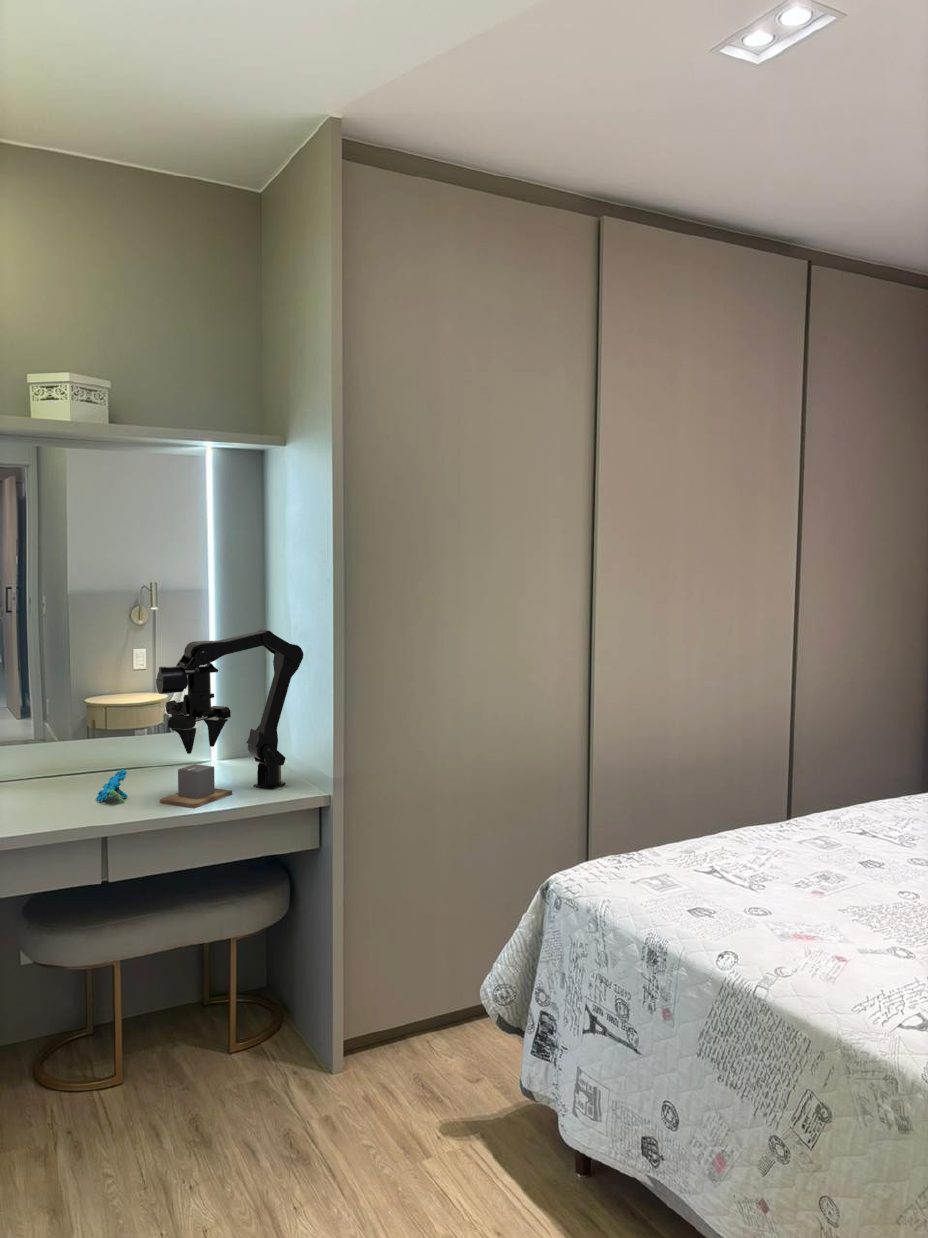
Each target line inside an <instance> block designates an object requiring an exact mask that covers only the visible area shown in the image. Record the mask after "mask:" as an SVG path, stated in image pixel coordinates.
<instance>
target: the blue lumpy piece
mask: <svg viewBox="0 0 928 1238" xmlns="http://www.w3.org/2000/svg"><path fill="white" fill-rule="evenodd" d="M127 774H128V771H127V770H126V769H123V768H122V769H121V770H120V771H119V770H117V771H116V772H115V773H114V775H112V776H111V777H109V779H108V782H105V783H104V784H103V785H102V788H103V789H101V790H98V792H97V796H96V798H95V800H96V801H98V802H100V803H102V802H103V801H106V800H107V799H108V798H109V795H110V796H111V797H112V798H113V799H114V800H115V799H117V800H118V801H119V802H120V803H122V804H124V803H125V802H126V800H124V799H127V798H128V794H127V793H126V792H124V791H122V790H121V788H120V786H121V785H122V783H121V781H122V782H123V781H124V780H125V779H126V778H127V776H126V775H127Z"/></svg>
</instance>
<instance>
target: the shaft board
mask: <svg viewBox="0 0 928 1238" xmlns="http://www.w3.org/2000/svg"><path fill="white" fill-rule="evenodd" d="M231 795H233V790H231V789H225V788H224V789H223V788H218V787H217V788H216V787H215V793H214V794H211V795H208V796H206V797H203V798H200V799H194V798H187V797H180V796H178V792H177V793H174V794H171V795H169V796H165V797H162V798H160V799H159V804H162V805H163V804H165V805H169V806H177V807H185V808H191V809H196V808H198V807H201V806H205V805H207V804H209V803H212V802H215V801H218V800H221V799H223V798H224V799H225V798H226V797H229V796H231Z"/></svg>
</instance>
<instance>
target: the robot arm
mask: <svg viewBox="0 0 928 1238" xmlns="http://www.w3.org/2000/svg"><path fill="white" fill-rule="evenodd" d="M259 647H263V648H265V649H266V650H267V651H268V652H270V653H271V654H272V655H273V661H272V664H273V673H274V674H273V678H272V681H271V683H270V687H269V690H268V695H267V698H266V702H265V705H264V708H263V713H262V716H261V719H260V722H259V725H258V726H257V727H256V728H255V729H253V728H250V731H249V735H248V736H249V737H248V739H247V741H246V744H247V751H248V752H249V754H250V755H251V756H252V757H253V759H254V760H255V763H256V762H257V763H258V764H257V771H256V772H257V773H256V775H257V777H256V778H257V779H256V781H257V782H256V783H254V784H253V785H252V787H254V788H260V789H267V790H269V789H270V790H275V789H278V788H279V787H281V786H284V785H286V783H287V782H285V781H282V771H281V770H282V766H284V764H285V762H286V756H284V755H283V754H282V753H281V752H280V750H278V745H279V736H278V734H279V733H278V727H279V721H280V719H281V715H282V712H283V708H284V704H285V701H286V697H287V695H288V690H289V686H290V684H291V680H292V678H293V676H294V675H295V674H296V672H297V671H298V670H299V667H300V666H301V663H302V661H303V659H304V655H305V654H304V650H303V649H302V647H300V646H299V645H297V644H293V643H289V642H288V641H287V640H284V639H283V638H281V637H279V636H277V635H276V634H274V632H272V631H270V630H267V629H258V630H257V631H253V632H250V633H249V632H248V633H245V634H240V635H237V636H232V637H228V638H224V639H220V640H197V641H190V642H189V643H187V644H186V646H185V647H184V650H183V655H182V656H181V658H180V659H179V661H178V662H177V663H176V666H159V667H158V673H156V674H157V676H156V678H155V685H156V690H157V692H158V694H160V695H165V694H177V693H184V690H186V689H187V694H184V695H183V700H182V701H179V702H177V701H176V700H174V699H173V700H169V701H167V702H166V703H165V709H166V710H165V711H166V714H168V715H170V716H169V717H168V719H167V721H166V722H167V728H168V729H171V731H174V732H176V733H177V734H178V735H179V738H180V739H181V742H182V744H183V747H184V750H185V753H186V754H188V755H191V754H192V752H193V749H194V743H195V737H196V733H197V727H195V726H196V724H197V723H198V722H200V721H203V722H204V724H206V726H207V731H208V732H207V734H208V743H209V747H212V748H213V747H215V745H216V743H217V740H218V739H219V736H220V734H221V732H222V731H223V728H224V727H225V724H226V722H228V720H229V718H232V717H231V713H232V712H231V709H230V708H229V707H228V706H224V705H223V706H222V705H220V706H219V705H213V706H212V699H214V698H215V693H211V691H212V690H211V674H212V673H218V672H219V669H218V668H216V667H215V665H214V664H213V662H215V661H217V660H219V659H221V658H222V657H225V656H227V655H230V654H234V653H239V652H243V651H248V650H250V649H254V648H259Z"/></svg>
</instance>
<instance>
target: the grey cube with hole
mask: <svg viewBox="0 0 928 1238" xmlns="http://www.w3.org/2000/svg"><path fill="white" fill-rule="evenodd" d="M215 781H216V780H215V766H211V765H205V764H204V765H203V764H191V765H188V766H185V767H181V768H178V769H177V790H178V791H177V793H178V796H180V797H187V798H194V799H200V798H203V797H206V796H208V795H211V794H214V793H215V788H216V787H215V785H216V784H215Z"/></svg>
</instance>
